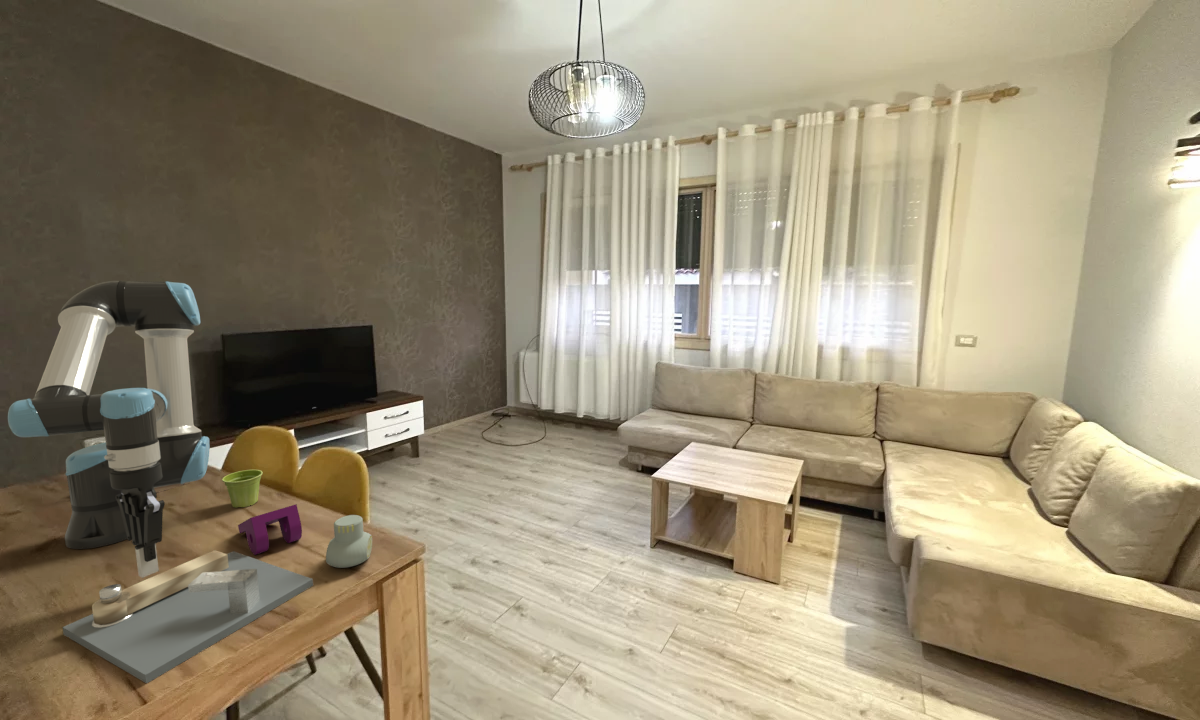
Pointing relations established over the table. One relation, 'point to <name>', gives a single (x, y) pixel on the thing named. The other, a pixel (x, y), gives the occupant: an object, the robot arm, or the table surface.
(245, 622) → the slate board
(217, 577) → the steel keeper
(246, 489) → the plant pot
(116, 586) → the cylinder
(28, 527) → the table surface
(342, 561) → the air freshener
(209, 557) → the brass bar
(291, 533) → the mounting bracket
